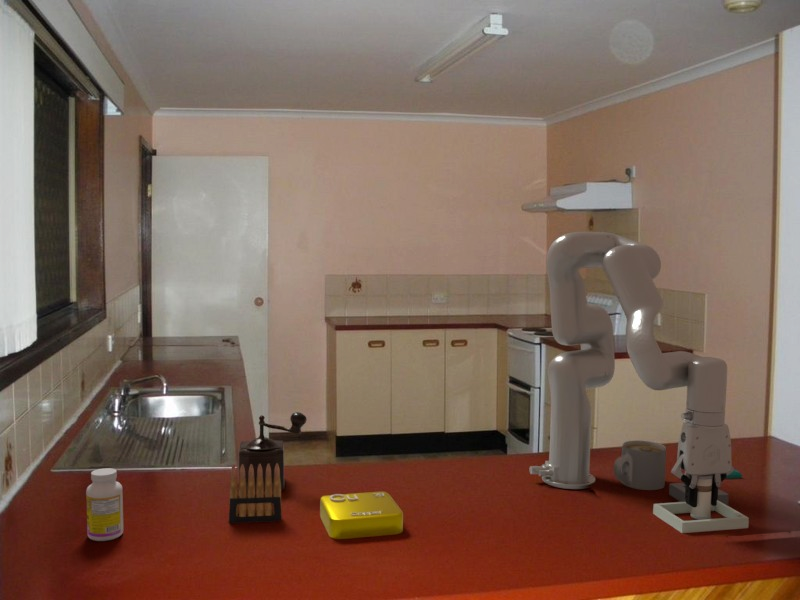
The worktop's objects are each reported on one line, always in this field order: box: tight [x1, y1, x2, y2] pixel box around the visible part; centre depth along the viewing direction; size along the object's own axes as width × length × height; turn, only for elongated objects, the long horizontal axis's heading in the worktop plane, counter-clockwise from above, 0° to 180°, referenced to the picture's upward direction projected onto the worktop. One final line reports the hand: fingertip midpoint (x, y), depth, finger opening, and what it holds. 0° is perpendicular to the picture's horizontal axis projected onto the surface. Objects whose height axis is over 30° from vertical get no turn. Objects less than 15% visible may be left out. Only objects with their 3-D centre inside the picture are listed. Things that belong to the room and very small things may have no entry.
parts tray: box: [652, 500, 750, 534], centre depth 170 cm, size 15×11×3 cm
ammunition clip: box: [228, 463, 283, 524], centre depth 168 cm, size 11×2×12 cm, turn 98°
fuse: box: [690, 474, 713, 520], centre depth 169 cm, size 4×4×9 cm
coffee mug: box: [613, 439, 667, 491], centre depth 193 cm, size 13×10×10 cm
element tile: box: [319, 491, 404, 540], centre depth 168 cm, size 15×15×5 cm
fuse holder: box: [668, 482, 730, 506], centre depth 182 cm, size 9×9×4 cm
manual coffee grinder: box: [238, 411, 307, 493], centre depth 190 cm, size 16×11×18 cm
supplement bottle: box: [85, 467, 124, 542], centre depth 159 cm, size 7×7×13 cm
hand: (701, 503), depth 169 cm, fingers closed on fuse, 3 cm apart
